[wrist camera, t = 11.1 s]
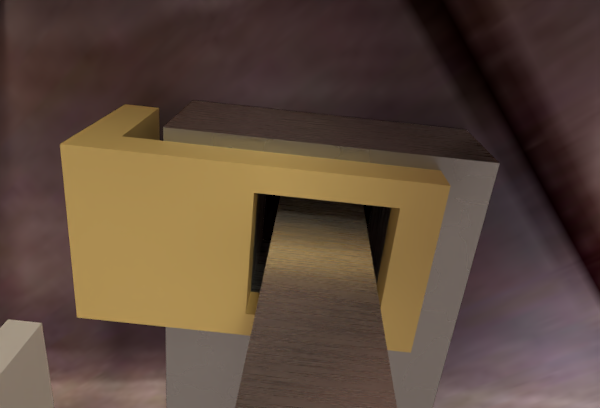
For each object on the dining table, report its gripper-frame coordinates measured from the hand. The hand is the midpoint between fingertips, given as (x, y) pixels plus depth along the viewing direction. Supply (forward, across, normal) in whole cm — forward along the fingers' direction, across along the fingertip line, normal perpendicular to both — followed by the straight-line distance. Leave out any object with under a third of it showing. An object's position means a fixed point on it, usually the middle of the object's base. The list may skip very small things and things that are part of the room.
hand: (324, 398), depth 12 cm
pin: (+13, 0, -1) cm, 13 cm away
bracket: (+13, -3, -1) cm, 13 cm away
